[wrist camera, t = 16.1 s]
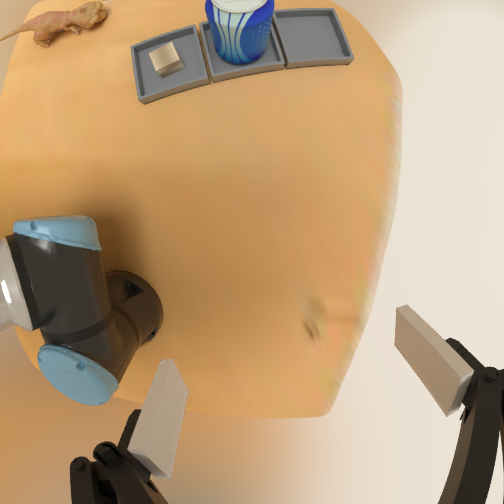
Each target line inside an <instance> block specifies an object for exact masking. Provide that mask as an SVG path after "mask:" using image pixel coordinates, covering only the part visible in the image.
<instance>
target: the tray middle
mask: <svg viewBox="0 0 504 504" xmlns="http://www.w3.org/2000/svg"><path fill="white" fill-rule="evenodd" d="M199 26H200V30H201V35H202V39H203V43H204V47H205V51H206V55H207V59H208V64H209V68H210V72H211V76H212V79H213V82H214V83H215V82H219V81H224V80H228V79H233V78H237V77H242V76H247V75H253V74H258V73H264V72H270V71H277V70H283V67H284V64H285V62H284V59H283V56H282V52H281V49H280V46H279V43H278V40H277V37H276V34H275V31H274V28H273V26H272V23H271V27H270V33H269V38H268V44H267V48H266V51H265V53H264V54H263V55H262V56H261V57H260V58H259V59H257V60H255V61H253V62H250V63H246V64H234V63H230V62H227V61H225V60H224V59H222V58H221V57H220V56H219V55H218V54H217V52H216V50H215V46H214V42H213V38H212V34H211V30H210V26H209V23H208V21H206V22H202V23H199Z"/></svg>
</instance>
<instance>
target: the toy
mask: <svg viewBox="0 0 504 504" xmlns="http://www.w3.org/2000/svg"><path fill="white" fill-rule="evenodd" d="M102 7H103V4H102V3H101V2H96V1H95V2H88V3H85V4H83V5H82V6H80V7H79V8H77V9H75V10H73V11H72V12H70V11H65V12H63V11H51V12H46V13H44V14H41V15H39V16H37V17H35V18H33V19H31V20H29V21H27V22H26V23H25V24H23V25H21V26H20V27H18V28H17V29H16V30H14V31H12V32H11V33H9V34H8V35H6V36H5V37H3V38H2V39H1V40H0V41H2V40H4V39H6V38H8V37H10V36H12V35H15V34H17V33H19V32H24V31H29V30H32V31H35V33H34V37H33V39H34V40H35V43H36V44H39V45H40V46H45V47H50V46H49V44H47V43H50V41H49V38H52V36H51V35H49V32H60V31H63V29H64V30H70V29H71V30H72V31H75V33H76V34H80V33H79V32H78V31H79V28H77V27H74V26H72V27H69V28H68V27H67V26H68V25H69V24H71V23H73V24H76V25H79V26H81V27H85V28H91V27H92V26H93V25H94V23H98V22H100V21H102V20H103V19H105V17H106V13H105V10H101V8H102Z"/></svg>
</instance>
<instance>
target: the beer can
mask: <svg viewBox="0 0 504 504" xmlns="http://www.w3.org/2000/svg"><path fill="white" fill-rule="evenodd" d="M205 11H206V15H207V19H208V23H209V26H210V30H211V34H212V38H213V42H214V46H215V50H216V52H217V54H218V55H219V56H220V57H221V58H222V59H224V60H225V61H227V62H230V63H234V64H246V63H250V62H253V61H255V60H257V59H259V58H260V57H261V56H262V55H263V54H264V53H265V51H266V48H267V44H268V38H269V33H270V27H271V22H272V17H273V11H274V0H206V3H205Z"/></svg>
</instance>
